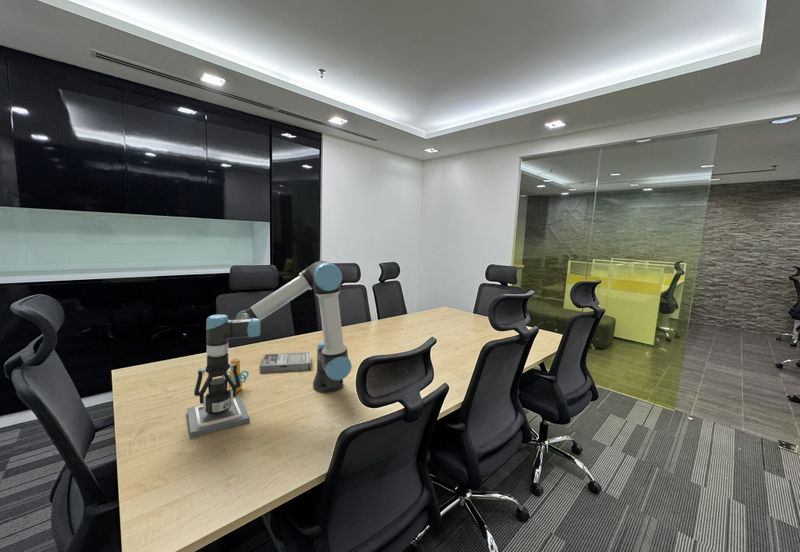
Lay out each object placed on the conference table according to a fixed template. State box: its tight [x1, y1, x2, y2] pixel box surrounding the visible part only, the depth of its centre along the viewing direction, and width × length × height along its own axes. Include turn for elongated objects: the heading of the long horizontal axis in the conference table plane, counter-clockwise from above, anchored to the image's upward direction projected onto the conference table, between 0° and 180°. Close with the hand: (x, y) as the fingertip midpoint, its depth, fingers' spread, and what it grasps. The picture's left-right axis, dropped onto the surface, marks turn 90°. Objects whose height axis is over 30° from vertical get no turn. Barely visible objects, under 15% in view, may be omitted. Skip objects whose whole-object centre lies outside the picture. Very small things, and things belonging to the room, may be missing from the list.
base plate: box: [186, 396, 251, 438], centre depth 132 cm, size 20×20×3 cm
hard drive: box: [259, 351, 312, 374], centre depth 189 cm, size 18×27×4 cm
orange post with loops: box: [221, 357, 249, 393], centre depth 156 cm, size 12×10×15 cm
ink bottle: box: [205, 377, 231, 414], centre depth 131 cm, size 10×9×12 cm
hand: (218, 407), depth 132 cm, fingers closed on ink bottle, 9 cm apart
